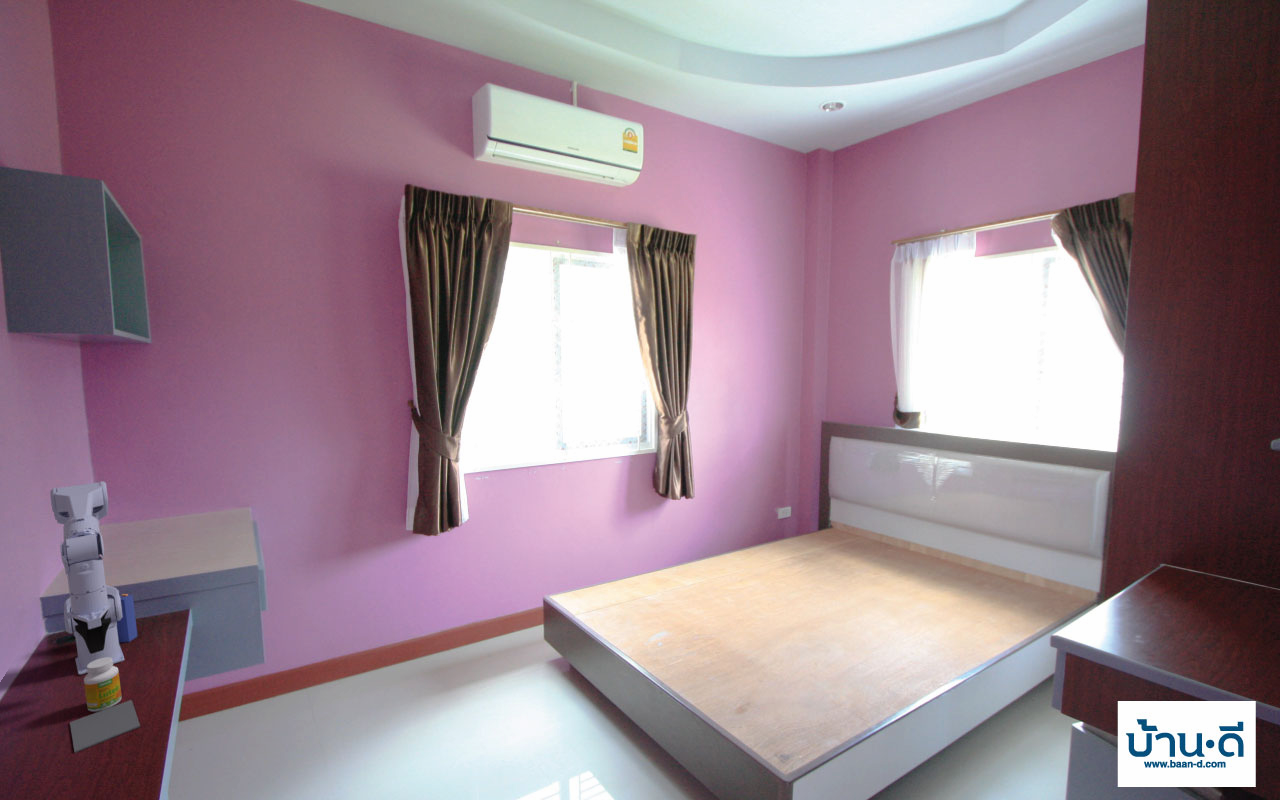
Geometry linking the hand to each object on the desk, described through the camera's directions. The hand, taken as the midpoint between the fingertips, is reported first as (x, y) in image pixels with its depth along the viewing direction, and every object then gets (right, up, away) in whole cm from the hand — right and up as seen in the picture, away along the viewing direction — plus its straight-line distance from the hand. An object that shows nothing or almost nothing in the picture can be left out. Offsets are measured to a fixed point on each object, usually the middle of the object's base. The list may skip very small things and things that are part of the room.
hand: (95, 647), depth 124 cm
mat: (+11, -12, -10) cm, 19 cm away
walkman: (-15, -8, +22) cm, 28 cm away
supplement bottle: (+5, -11, -3) cm, 13 cm away
